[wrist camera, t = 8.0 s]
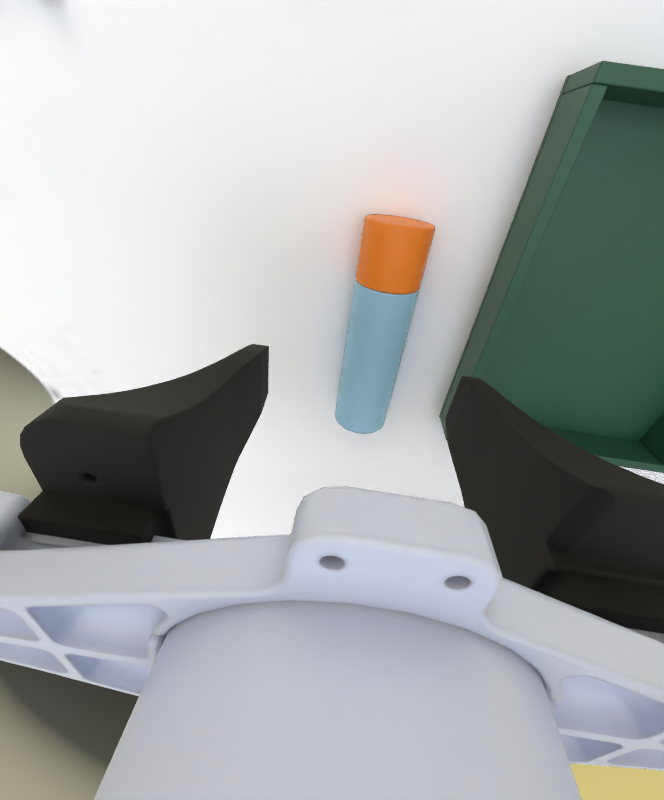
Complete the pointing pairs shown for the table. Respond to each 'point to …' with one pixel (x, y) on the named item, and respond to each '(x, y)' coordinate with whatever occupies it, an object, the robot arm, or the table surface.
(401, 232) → the glue stick
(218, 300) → the table surface
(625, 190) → the tray
